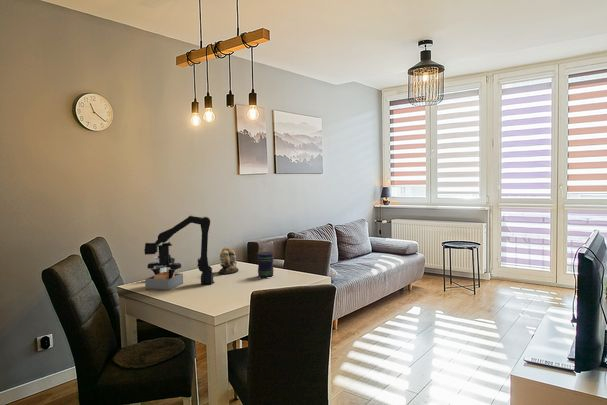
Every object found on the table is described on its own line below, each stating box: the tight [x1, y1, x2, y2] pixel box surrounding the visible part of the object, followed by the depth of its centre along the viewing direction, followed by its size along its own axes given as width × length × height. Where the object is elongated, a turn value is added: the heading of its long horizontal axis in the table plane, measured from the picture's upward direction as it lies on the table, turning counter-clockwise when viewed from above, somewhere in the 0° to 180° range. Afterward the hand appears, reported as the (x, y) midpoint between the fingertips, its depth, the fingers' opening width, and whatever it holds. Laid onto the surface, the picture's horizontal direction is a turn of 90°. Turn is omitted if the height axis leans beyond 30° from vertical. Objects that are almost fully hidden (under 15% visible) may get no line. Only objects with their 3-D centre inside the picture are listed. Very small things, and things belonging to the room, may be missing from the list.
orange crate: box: [153, 272, 175, 280], centre depth 238 cm, size 7×10×5 cm
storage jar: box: [257, 251, 274, 279], centre depth 260 cm, size 10×10×15 cm
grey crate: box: [144, 272, 184, 291], centre depth 238 cm, size 14×16×6 cm
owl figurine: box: [218, 246, 239, 275], centre depth 275 cm, size 18×12×17 cm, turn 166°
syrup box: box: [153, 256, 169, 273], centre depth 256 cm, size 6×6×14 cm
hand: (164, 280), depth 238 cm, fingers closed on orange crate, 7 cm apart
